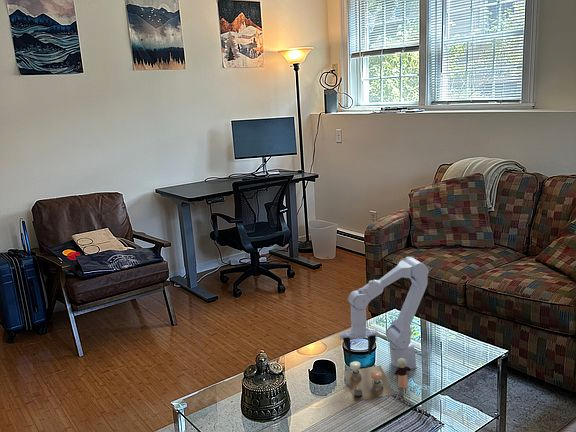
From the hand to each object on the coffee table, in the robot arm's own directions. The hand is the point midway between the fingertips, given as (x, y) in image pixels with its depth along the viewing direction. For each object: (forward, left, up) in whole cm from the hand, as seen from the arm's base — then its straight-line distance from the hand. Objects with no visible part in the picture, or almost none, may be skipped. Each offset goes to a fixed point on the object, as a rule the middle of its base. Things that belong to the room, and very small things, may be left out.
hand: (359, 354), depth 211 cm
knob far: (+3, +3, -6) cm, 7 cm away
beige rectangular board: (-1, +7, -10) cm, 12 cm away
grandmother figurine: (-13, +13, -10) cm, 21 cm away
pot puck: (+5, +14, -8) cm, 17 cm away
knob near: (-3, +12, -6) cm, 13 cm away
